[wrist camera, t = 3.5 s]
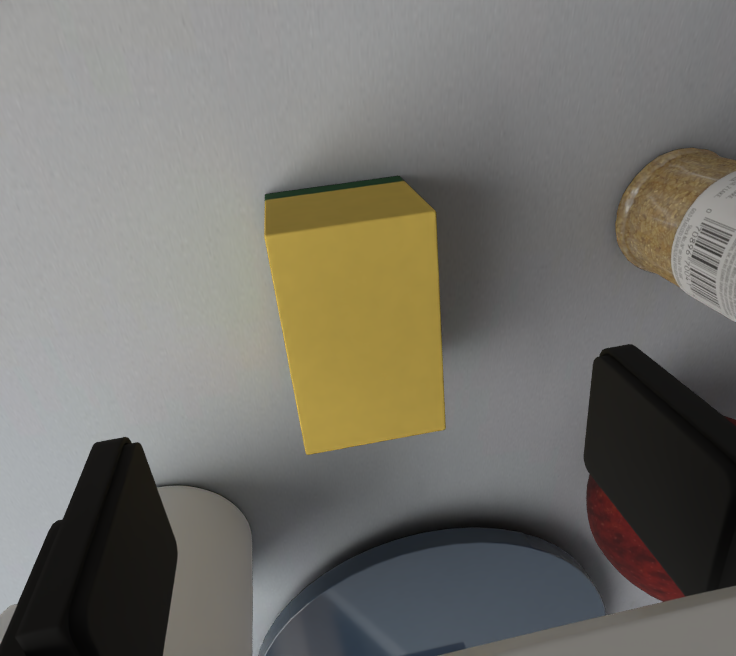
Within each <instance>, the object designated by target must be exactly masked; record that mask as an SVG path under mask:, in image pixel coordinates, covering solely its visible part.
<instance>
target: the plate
mask: <svg viewBox="0 0 736 656" xmlns="http://www.w3.org/2000/svg"><path fill="white" fill-rule="evenodd" d="M605 615H606V612H605V606H604V604H603V601H602V598H601V596H600V593H599V592H598V590H597V588H596V587H595V585H594V583H593V582H592V580H591V579H590V577H589V576H588V574H587V573H586V571H585V570H584V568H583V567H582V566H581V565H580V564H579V563H578V562H577V561H576V560H575V559H574V558H573V557H572V556H571V555H569V554H568V553H566V552H565V551H563V550H562V549H560V548H559V547H558V546H556V545H554V544H551V543H549V542H547V541H545V540H543V539H541V538H538V537H535V536H531V535H528V534H525V533H521V532H516V531H510V530H504V529H498V528H479V527H471V528H452V529H444V530H437V531H431V532H424V533H420V534H416V535H412V536H408V537H404V538H400V539H397V540H394V541H391V542H388V543H385V544H382V545H380V546H377V547H374V548H372V549H369V550H367V551H365V552H363V553H361V554H359V555H356V556H354V557H352V558H350V559H348V560H346V561H345V562H343V563H341V564H339V565H338V566H336V567H334V568H333V569H331V570H329V571H327V572H326V573H325V574H323V575H322V576H321V577H319V578H318V579H316V580H315V581H314V582H312V583H311V584H310V585H308V586H307V587H306V588H305V589H304V590H303V591H302V592H300V593H299V594H298V595H297V596H296V597H295V598H294V599H293V600H292V601H291V602H290V603H289V604H288V605H287V606H286V608H285V609H284V610H283V611H282V612H281V613H280V615H279V616H278V617H277V618H276V620H275V621H274V623H273V625H272V626H271V628H270V629H269V631H268V633H267V634H266V636H265V639H264V641H263V644H262V646H261V648H260V651H259V654H258V656H438V655H442V654H447V653H451V652H455V651H459V650H463V649H467V648H471V647H476V646H480V645H484V644H488V643H492V642H496V641H500V640H505V639H509V638H513V637H517V636H521V635H525V634H530V633H534V632H538V631H542V630H546V629H550V628H555V627H559V626H563V625H567V624H571V623H576V622H580V621H584V620H588V619H593V618H597V617H601V616H605Z"/></svg>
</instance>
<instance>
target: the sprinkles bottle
mask: <svg viewBox="0 0 736 656" xmlns="http://www.w3.org/2000/svg"><path fill="white" fill-rule="evenodd" d="M615 224H616V236H617V242H618V245H619V247H620V249H621V251H622V252H623V254H624V255H625V256H626V258H627V260H628V261H630V262H631V263H633V264H634V265H635V266H637V267H639V268H640V269H643V270H646V271H649V272H652V273H656V274H658V275H660V276H662V277H663V278H665V279H667V280H668V281H670V282H672V283H674V284H675V285H677V286H678V287H680V288H681V289H682V290H683V291H684V292H685V293H687V294H688V295H690V296H691V297H693V298H695V299H696V300H698V301H700V302H702V303H703V304H705V305H707V306H708V307H710V308H712V309H713V310H715V311H717V312H719V313H720V314H722V315H724V316H726V317H727V318H729V319H731V320H732V321H734V322H736V160H732V159H728V158H723V157H720V156H718V155H717V154H716V153H714V152H712V151H709V150H706V149H696V148H685V149H677V150H674V151H671V152H668V153H666V154H663V155H660V156H658V157H657V158H656V159H655V160H653V161H652V162H650V163H649V164H648V165H646V167H645V168H644V169H643V170H642V171H641V172H640V173H638V174H637V175H636V176H635V178H634V179H633V181H632V182H631V183H630V185H629V186H628V187H627V189H626V191H625V192H624V194H623V196H622V199H621V201H620V204H619V207H618V211H617V219H616V223H615Z"/></svg>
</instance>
